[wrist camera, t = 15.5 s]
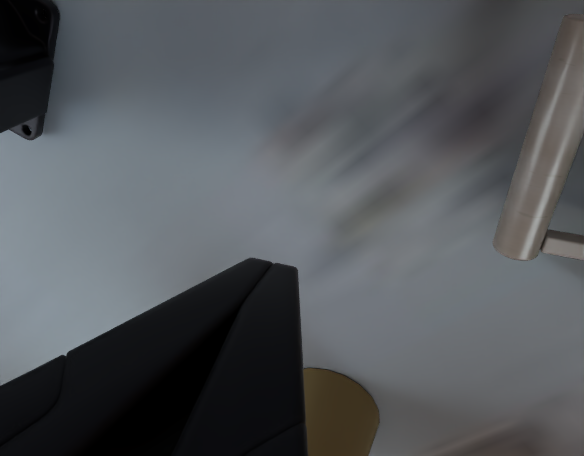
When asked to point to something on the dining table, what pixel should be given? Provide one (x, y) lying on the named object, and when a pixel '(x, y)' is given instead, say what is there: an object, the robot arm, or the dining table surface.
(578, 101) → the drawer
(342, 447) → the pepper mill
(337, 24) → the dining table surface
